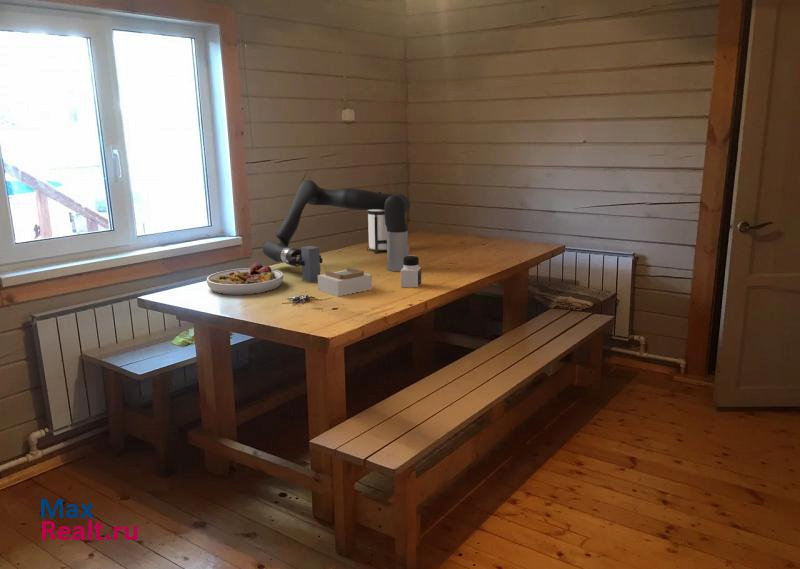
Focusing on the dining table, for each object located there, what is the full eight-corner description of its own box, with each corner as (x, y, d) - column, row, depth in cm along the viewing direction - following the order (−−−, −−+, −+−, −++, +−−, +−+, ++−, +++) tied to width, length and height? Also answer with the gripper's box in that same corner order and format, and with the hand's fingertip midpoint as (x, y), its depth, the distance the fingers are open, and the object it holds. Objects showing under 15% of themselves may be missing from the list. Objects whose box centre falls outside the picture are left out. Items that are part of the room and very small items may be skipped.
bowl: (268, 298, 254) (267, 278, 252) (194, 296, 259) (192, 276, 257) (293, 280, 283) (292, 262, 281) (226, 278, 288) (224, 260, 286)
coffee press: (360, 253, 337) (358, 193, 330) (373, 247, 351) (372, 189, 344) (391, 255, 330) (390, 194, 323) (404, 249, 345) (403, 190, 338)
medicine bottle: (418, 287, 266) (418, 258, 263) (400, 287, 267) (400, 257, 264) (421, 283, 273) (421, 254, 270) (404, 283, 274) (403, 254, 271)
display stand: (351, 283, 274) (350, 265, 273) (372, 289, 264) (371, 270, 262) (318, 290, 265) (317, 271, 263) (338, 296, 254) (337, 277, 252)
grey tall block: (312, 278, 285) (311, 245, 281) (320, 280, 280) (319, 247, 277) (302, 280, 282) (301, 247, 278) (310, 282, 277) (308, 249, 274)
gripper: (277, 250, 285) (297, 255, 272) (306, 245, 293) (327, 251, 281) (278, 267, 286) (298, 273, 274) (307, 262, 295) (327, 268, 283)
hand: (312, 262), depth 278 cm, fingers open, 8 cm apart
